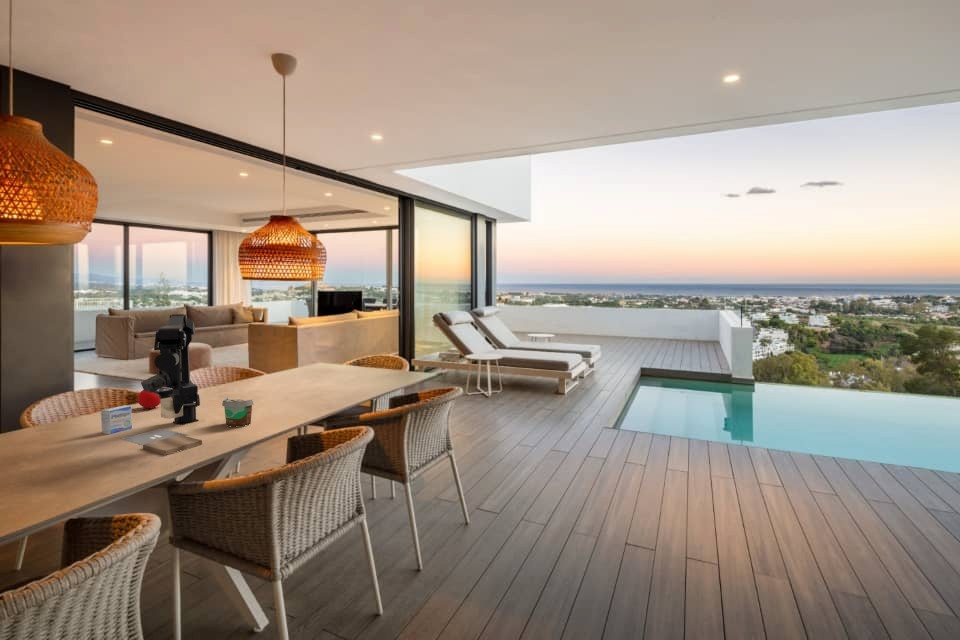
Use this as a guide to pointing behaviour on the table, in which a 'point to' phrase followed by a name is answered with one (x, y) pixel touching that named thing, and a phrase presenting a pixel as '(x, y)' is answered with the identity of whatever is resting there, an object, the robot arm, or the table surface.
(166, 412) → the maple block
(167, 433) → the tile
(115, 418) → the medicine box
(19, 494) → the table surface
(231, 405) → the food container
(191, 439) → the walnut board
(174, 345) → the robot arm
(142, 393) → the ornament
